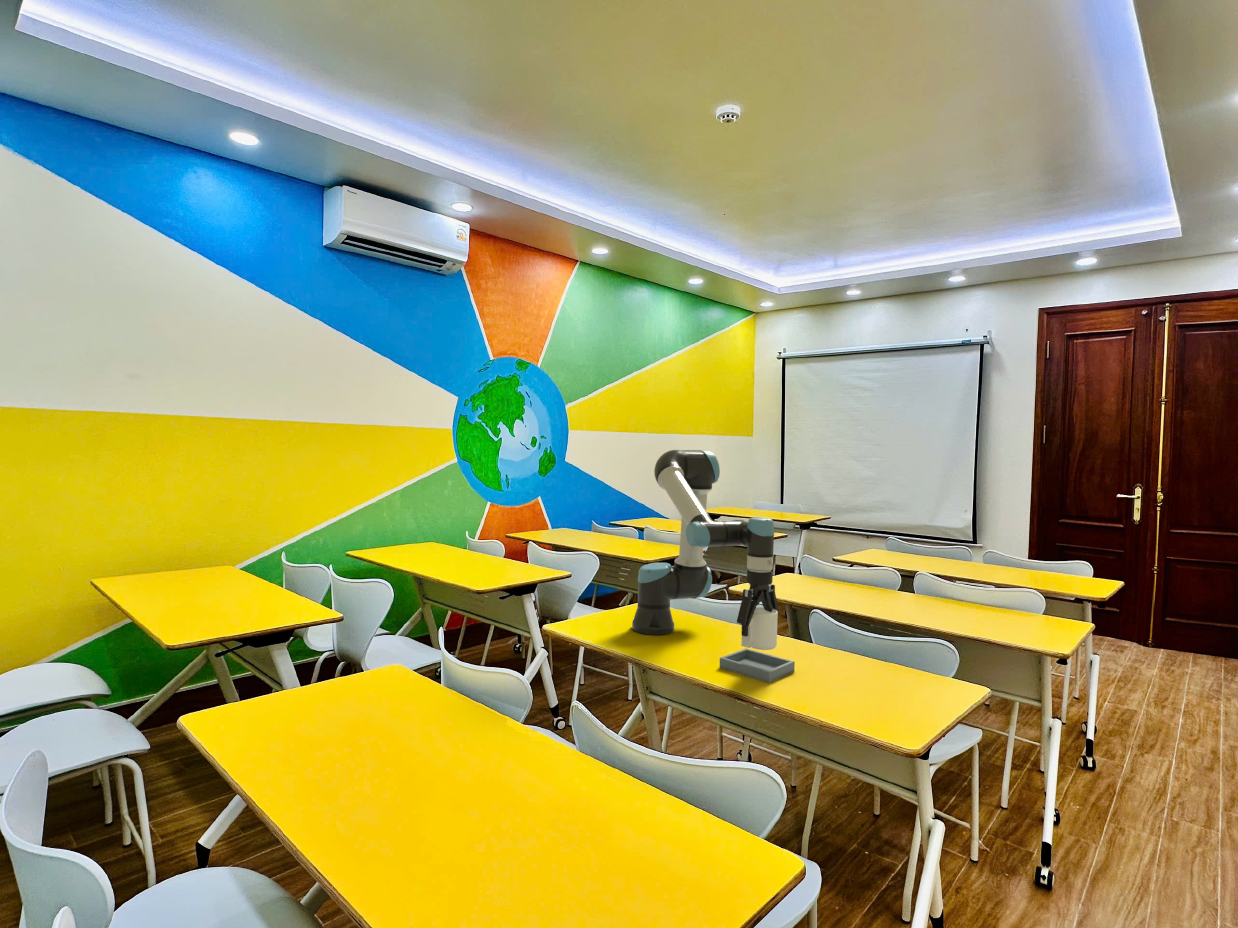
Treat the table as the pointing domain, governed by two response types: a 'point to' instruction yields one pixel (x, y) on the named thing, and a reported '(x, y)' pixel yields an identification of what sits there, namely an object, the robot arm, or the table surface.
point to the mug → (764, 629)
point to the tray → (757, 665)
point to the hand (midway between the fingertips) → (757, 642)
